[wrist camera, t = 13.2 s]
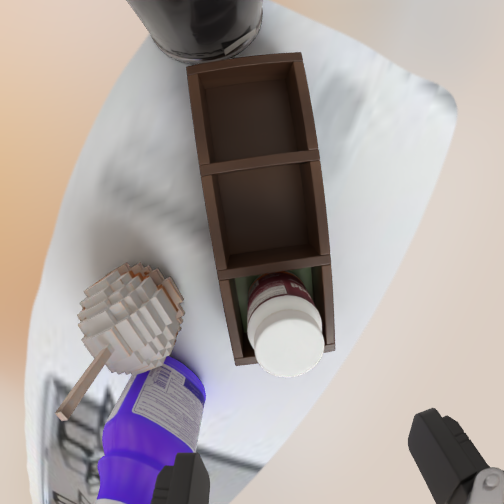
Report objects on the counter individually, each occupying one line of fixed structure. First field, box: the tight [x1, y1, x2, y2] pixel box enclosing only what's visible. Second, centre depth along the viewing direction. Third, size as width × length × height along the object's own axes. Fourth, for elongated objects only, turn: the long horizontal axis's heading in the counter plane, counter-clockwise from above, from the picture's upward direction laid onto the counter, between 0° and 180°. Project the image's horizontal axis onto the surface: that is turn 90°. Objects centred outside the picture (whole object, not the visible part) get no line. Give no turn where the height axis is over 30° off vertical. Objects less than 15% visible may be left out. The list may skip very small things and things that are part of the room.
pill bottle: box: [247, 271, 324, 377], centre depth 21 cm, size 5×5×8 cm
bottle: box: [95, 356, 206, 504], centre depth 19 cm, size 7×6×17 cm
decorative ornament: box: [55, 262, 185, 421], centre depth 19 cm, size 8×8×15 cm
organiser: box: [186, 52, 335, 366], centre depth 22 cm, size 21×8×5 cm, turn 8°
